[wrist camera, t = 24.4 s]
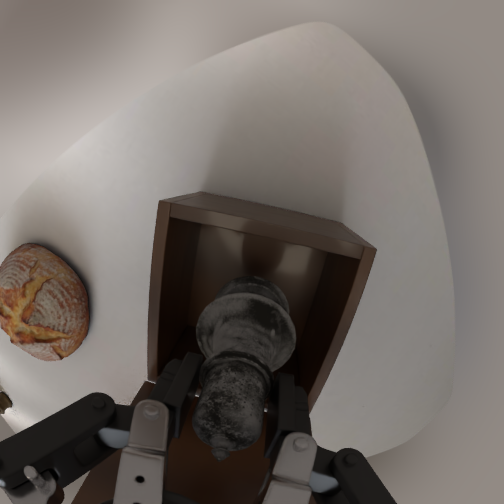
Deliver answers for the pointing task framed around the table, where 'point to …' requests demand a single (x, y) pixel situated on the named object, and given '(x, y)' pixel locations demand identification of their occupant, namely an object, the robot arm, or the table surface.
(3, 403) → the kendama
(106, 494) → the wooden box lid
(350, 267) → the brown wooden box
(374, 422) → the table surface
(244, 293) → the chess piece
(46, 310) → the bread
